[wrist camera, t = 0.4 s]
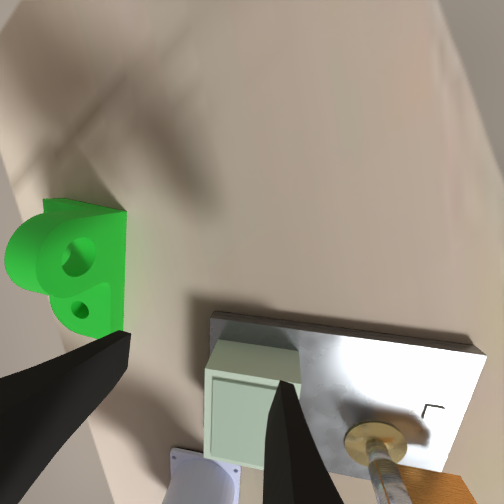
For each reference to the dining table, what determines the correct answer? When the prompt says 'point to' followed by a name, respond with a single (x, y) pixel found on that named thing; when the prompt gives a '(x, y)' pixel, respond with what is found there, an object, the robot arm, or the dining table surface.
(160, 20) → the dining table surface
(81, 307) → the mechanical part
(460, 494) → the t key
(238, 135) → the dining table surface
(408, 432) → the latch plate
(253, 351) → the cover
